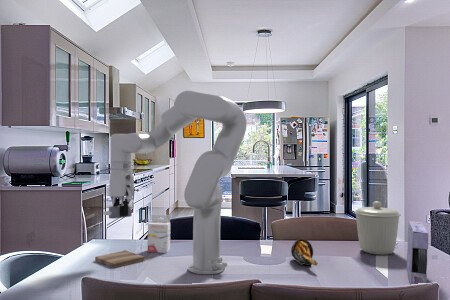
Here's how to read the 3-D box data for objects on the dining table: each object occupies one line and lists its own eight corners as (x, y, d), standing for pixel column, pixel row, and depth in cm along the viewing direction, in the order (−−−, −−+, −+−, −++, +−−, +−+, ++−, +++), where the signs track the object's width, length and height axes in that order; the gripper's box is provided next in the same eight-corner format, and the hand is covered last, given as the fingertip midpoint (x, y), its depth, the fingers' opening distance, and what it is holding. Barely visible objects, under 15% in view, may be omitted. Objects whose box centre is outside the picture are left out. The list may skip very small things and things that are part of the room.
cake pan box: (428, 291, 116) (429, 232, 116) (410, 288, 118) (410, 230, 118) (422, 272, 134) (422, 221, 134) (406, 270, 136) (406, 220, 136)
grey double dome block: (133, 215, 148) (133, 205, 148) (107, 219, 140) (107, 208, 140) (127, 214, 150) (127, 204, 151) (101, 218, 142) (101, 207, 142)
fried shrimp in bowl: (306, 244, 154) (334, 239, 138) (302, 272, 149) (330, 270, 133) (286, 237, 152) (312, 230, 136) (281, 265, 147) (307, 261, 131)
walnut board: (144, 260, 146) (144, 256, 146) (114, 268, 137) (114, 263, 137) (125, 254, 155) (125, 250, 155) (95, 260, 145) (95, 256, 145)
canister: (410, 255, 156) (411, 203, 156) (375, 259, 150) (375, 205, 150) (377, 245, 173) (378, 198, 173) (344, 248, 166) (345, 199, 167)
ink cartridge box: (147, 252, 158) (147, 216, 158) (150, 249, 163) (150, 214, 163) (167, 253, 158) (167, 216, 158) (170, 250, 162) (170, 214, 163)
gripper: (142, 167, 143) (141, 216, 143) (117, 165, 154) (117, 211, 154) (124, 167, 138) (124, 219, 137) (100, 166, 149) (99, 214, 149)
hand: (120, 214), depth 146 cm, fingers closed on grey double dome block, 4 cm apart
